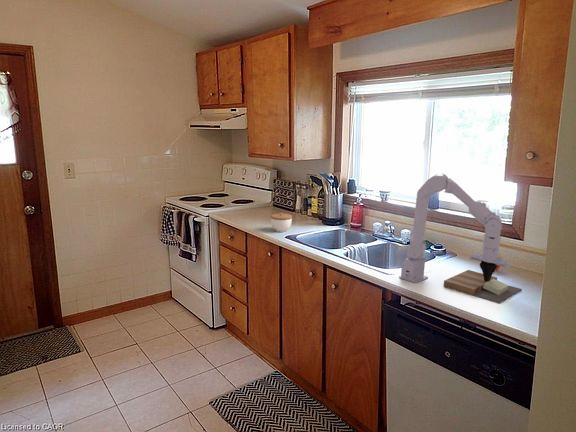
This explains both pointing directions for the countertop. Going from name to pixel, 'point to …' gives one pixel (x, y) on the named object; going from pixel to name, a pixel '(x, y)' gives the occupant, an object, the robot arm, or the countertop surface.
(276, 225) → the lidded bowl
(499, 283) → the tile
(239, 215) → the countertop surface
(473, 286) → the board
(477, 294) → the mat
